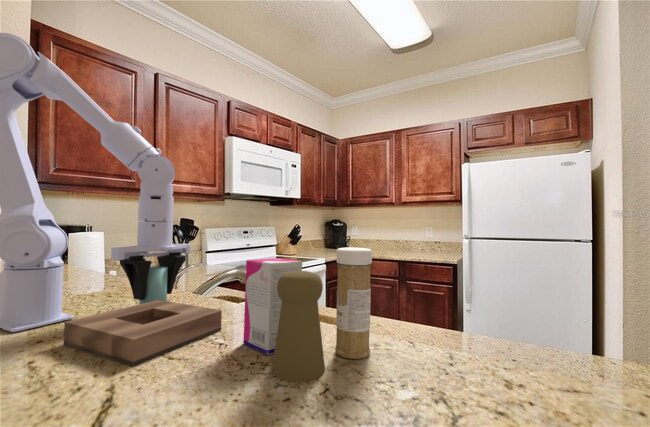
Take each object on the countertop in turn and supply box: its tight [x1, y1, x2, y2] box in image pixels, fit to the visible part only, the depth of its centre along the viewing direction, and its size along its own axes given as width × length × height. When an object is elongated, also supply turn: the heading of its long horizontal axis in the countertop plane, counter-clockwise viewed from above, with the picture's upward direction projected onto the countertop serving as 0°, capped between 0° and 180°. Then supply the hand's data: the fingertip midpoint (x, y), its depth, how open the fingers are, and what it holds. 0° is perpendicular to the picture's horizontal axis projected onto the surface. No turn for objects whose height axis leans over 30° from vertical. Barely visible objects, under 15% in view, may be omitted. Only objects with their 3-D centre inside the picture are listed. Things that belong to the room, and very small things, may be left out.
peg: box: [138, 265, 168, 305], centre depth 59 cm, size 4×4×8 cm
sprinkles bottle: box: [334, 246, 373, 360], centre depth 41 cm, size 5×5×13 cm
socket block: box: [63, 300, 223, 367], centre depth 46 cm, size 14×14×3 cm
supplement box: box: [242, 257, 303, 356], centre depth 44 cm, size 6×6×12 cm
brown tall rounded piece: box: [271, 270, 326, 383], centre depth 37 cm, size 6×6×11 cm
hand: (153, 296), depth 59 cm, fingers open, 5 cm apart
